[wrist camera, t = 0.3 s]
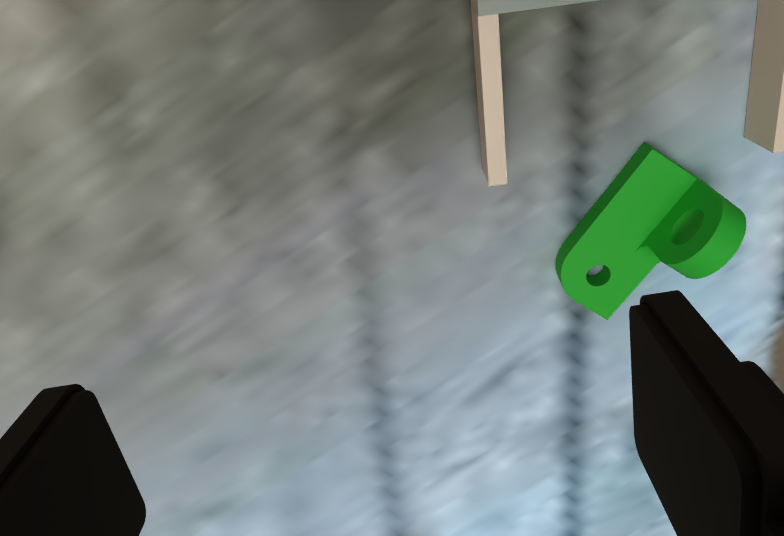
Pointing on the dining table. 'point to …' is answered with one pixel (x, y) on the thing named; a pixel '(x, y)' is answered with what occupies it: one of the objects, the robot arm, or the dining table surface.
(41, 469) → the robot arm
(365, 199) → the dining table surface
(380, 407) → the dining table surface
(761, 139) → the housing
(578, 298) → the mechanical part
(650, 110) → the dining table surface
